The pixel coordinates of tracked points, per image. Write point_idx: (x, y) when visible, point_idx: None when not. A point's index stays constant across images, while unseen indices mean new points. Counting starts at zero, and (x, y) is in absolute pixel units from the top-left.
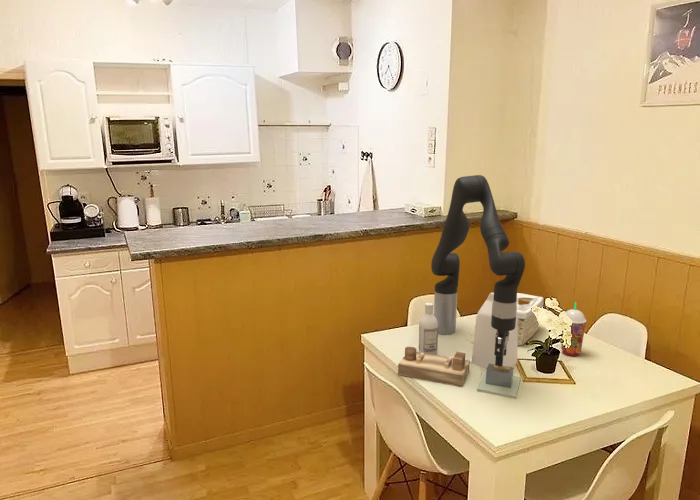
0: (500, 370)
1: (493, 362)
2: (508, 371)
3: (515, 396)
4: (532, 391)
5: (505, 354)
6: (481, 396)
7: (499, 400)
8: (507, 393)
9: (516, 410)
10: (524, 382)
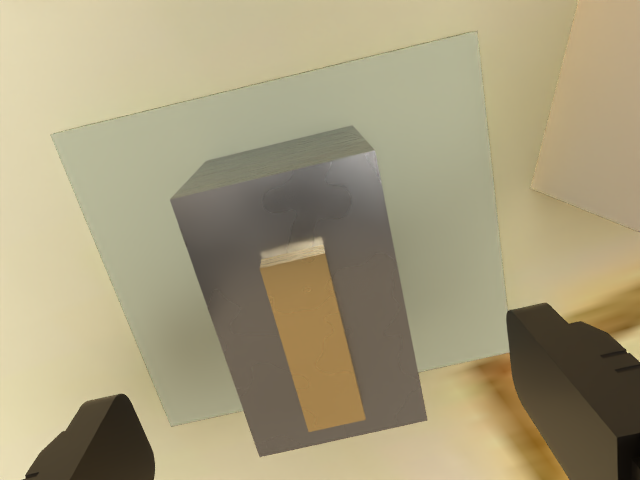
0: (262, 342)
1: (612, 95)
2: (295, 413)
3: (170, 422)
4: (353, 459)
5: (524, 399)
6: (6, 205)
7: (60, 339)
8: (166, 369)
9: (21, 468)
10: (463, 379)
